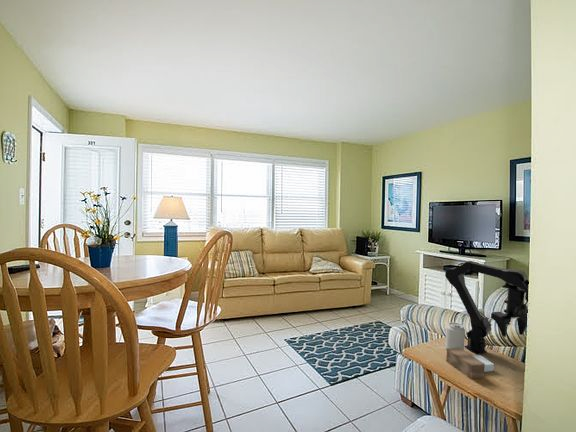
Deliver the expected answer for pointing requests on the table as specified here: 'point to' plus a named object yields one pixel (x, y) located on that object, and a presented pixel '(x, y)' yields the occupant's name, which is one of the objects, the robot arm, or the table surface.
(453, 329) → the can
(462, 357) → the wooden block
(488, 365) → the panel
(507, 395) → the table surface
